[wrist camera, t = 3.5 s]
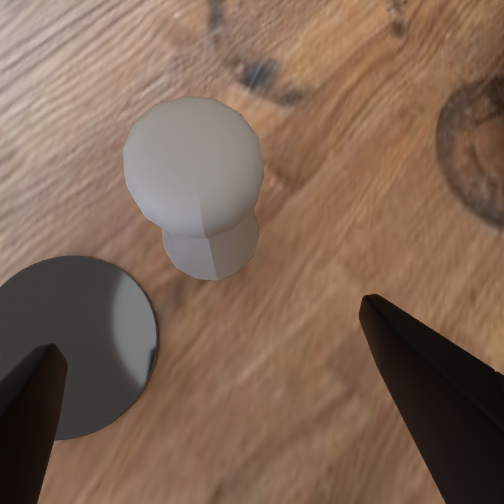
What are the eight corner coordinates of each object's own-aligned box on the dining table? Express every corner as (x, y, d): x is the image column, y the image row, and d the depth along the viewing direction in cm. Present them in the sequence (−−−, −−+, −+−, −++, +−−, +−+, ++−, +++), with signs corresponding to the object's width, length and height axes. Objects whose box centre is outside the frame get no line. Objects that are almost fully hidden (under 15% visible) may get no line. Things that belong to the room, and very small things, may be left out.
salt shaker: (152, 255, 21) (35, 180, 8) (197, 185, 22) (156, 22, 9) (228, 298, 21) (229, 293, 8) (269, 227, 22) (329, 120, 9)
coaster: (194, 347, 20) (193, 348, 20) (51, 479, 18) (46, 484, 18) (86, 223, 21) (82, 221, 21) (-62, 338, 19) (-69, 339, 19)
